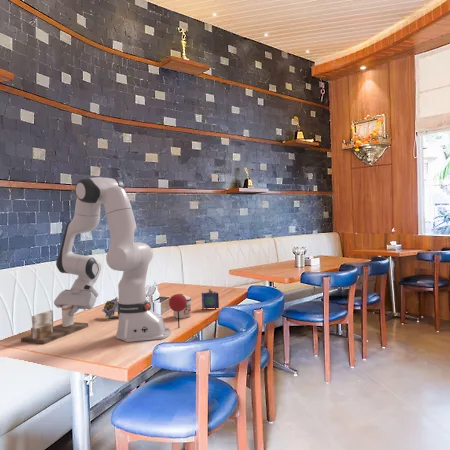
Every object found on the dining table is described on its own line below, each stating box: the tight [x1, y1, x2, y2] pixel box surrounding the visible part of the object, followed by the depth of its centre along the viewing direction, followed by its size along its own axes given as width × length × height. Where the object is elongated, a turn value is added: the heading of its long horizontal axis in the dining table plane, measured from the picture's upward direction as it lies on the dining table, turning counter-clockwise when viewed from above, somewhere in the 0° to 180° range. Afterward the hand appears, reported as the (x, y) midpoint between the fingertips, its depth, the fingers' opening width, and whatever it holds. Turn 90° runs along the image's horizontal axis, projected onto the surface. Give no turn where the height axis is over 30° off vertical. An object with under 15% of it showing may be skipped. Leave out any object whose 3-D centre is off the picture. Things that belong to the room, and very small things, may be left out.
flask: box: [201, 288, 220, 309], centre depth 214 cm, size 9×3×11 cm, turn 79°
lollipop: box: [168, 293, 187, 328], centre depth 179 cm, size 8×8×15 cm
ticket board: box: [20, 309, 89, 345], centre depth 176 cm, size 27×12×11 cm, turn 160°
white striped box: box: [61, 305, 75, 327], centre depth 183 cm, size 5×2×9 cm, turn 160°
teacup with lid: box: [173, 292, 192, 319], centre depth 201 cm, size 12×9×12 cm
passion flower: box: [101, 296, 119, 320], centre depth 203 cm, size 11×11×12 cm
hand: (66, 315), depth 182 cm, fingers closed on white striped box, 2 cm apart
